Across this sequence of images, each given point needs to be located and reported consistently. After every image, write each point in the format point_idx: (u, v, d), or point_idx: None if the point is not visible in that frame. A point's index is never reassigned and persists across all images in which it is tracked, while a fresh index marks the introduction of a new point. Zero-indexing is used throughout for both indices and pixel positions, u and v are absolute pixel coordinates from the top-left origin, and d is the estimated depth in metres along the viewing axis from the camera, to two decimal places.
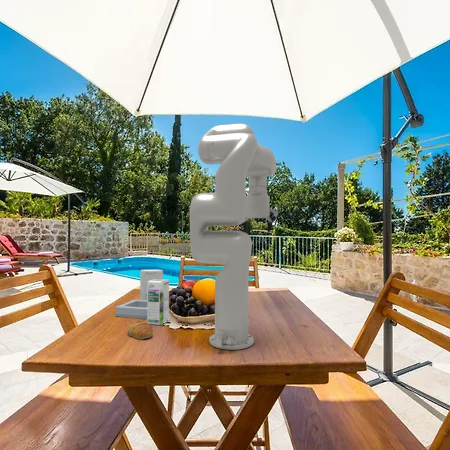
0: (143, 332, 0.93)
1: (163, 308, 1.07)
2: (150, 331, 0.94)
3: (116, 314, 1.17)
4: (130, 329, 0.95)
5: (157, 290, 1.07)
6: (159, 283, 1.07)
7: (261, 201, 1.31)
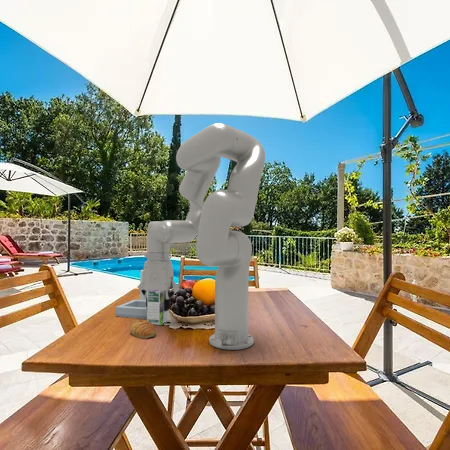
0: (146, 331, 0.94)
1: (162, 308, 1.07)
2: (153, 330, 0.95)
3: (116, 314, 1.17)
4: (133, 328, 0.96)
5: None
6: None
7: (160, 271, 1.07)
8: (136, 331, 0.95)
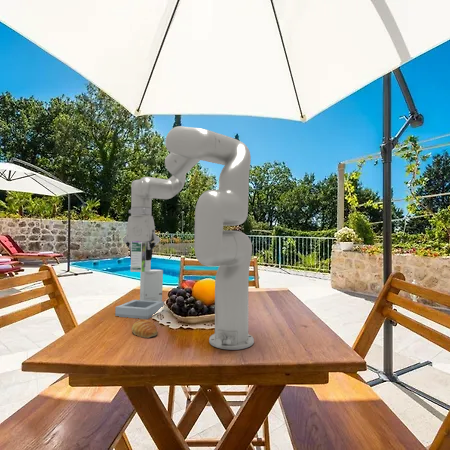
0: (148, 330, 0.94)
1: (144, 257, 1.19)
2: (155, 329, 0.95)
3: (116, 314, 1.17)
4: (135, 328, 0.97)
5: (139, 241, 1.19)
6: None
7: (142, 224, 1.19)
8: (138, 331, 0.95)
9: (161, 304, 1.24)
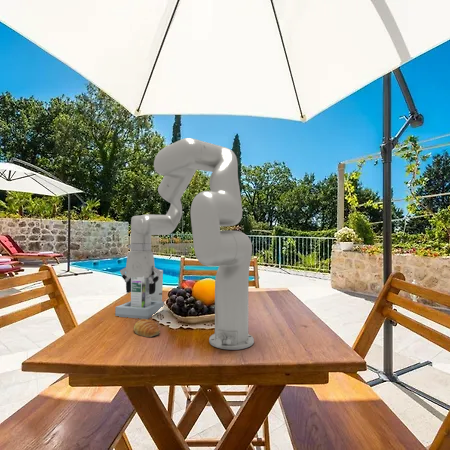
0: (151, 330, 0.95)
1: (144, 298, 1.18)
2: (157, 329, 0.96)
3: (116, 314, 1.17)
4: (137, 328, 0.97)
5: (139, 282, 1.18)
6: None
7: (142, 260, 1.19)
8: (140, 330, 0.96)
9: (161, 304, 1.24)
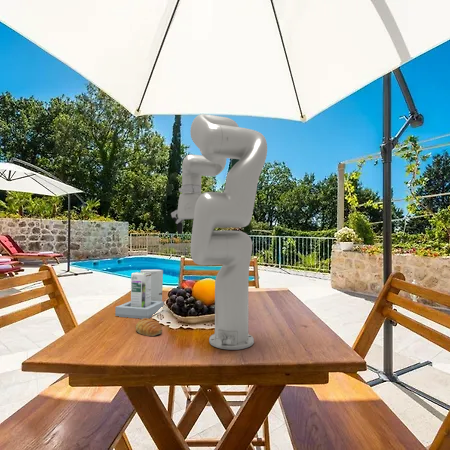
0: (153, 329, 0.96)
1: (144, 298, 1.18)
2: (160, 328, 0.97)
3: (116, 314, 1.17)
4: (139, 327, 0.98)
5: (139, 282, 1.18)
6: (141, 275, 1.18)
7: (194, 201, 1.23)
8: (143, 329, 0.96)
9: (161, 304, 1.24)
